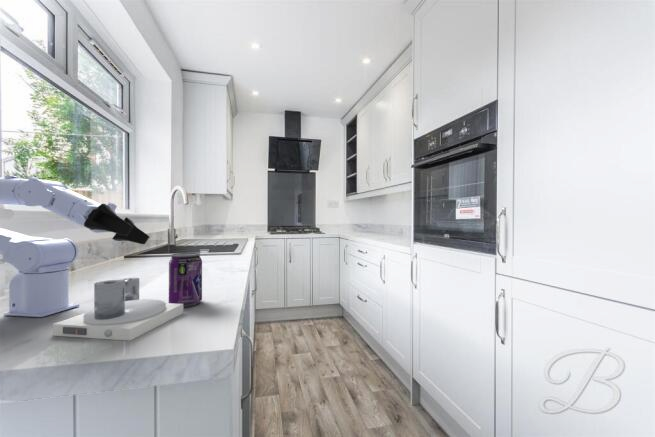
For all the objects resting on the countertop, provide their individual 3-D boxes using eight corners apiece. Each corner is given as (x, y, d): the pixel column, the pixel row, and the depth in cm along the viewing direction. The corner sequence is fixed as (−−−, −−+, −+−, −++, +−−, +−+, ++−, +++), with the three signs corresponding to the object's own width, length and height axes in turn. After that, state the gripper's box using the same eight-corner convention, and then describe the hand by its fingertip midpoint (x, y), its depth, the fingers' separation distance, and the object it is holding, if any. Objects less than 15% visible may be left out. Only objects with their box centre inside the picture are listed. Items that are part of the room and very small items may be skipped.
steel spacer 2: (111, 307, 65) (111, 281, 65) (127, 302, 70) (127, 277, 70) (128, 308, 65) (128, 281, 65) (143, 302, 69) (143, 277, 69)
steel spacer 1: (87, 319, 50) (87, 284, 50) (109, 311, 54) (110, 279, 54) (109, 320, 49) (109, 285, 49) (130, 312, 54) (130, 279, 54)
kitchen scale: (50, 336, 49) (50, 320, 49) (121, 309, 64) (121, 297, 64) (128, 341, 47) (128, 324, 47) (183, 313, 62) (183, 300, 62)
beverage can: (188, 309, 64) (188, 256, 64) (161, 307, 65) (161, 255, 65) (208, 300, 71) (208, 252, 71) (183, 299, 72) (183, 251, 72)
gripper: (72, 181, 57) (133, 209, 57) (112, 206, 71) (162, 229, 71) (46, 210, 55) (110, 240, 55) (93, 231, 68) (145, 255, 68)
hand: (138, 236), depth 63 cm, fingers open, 7 cm apart
